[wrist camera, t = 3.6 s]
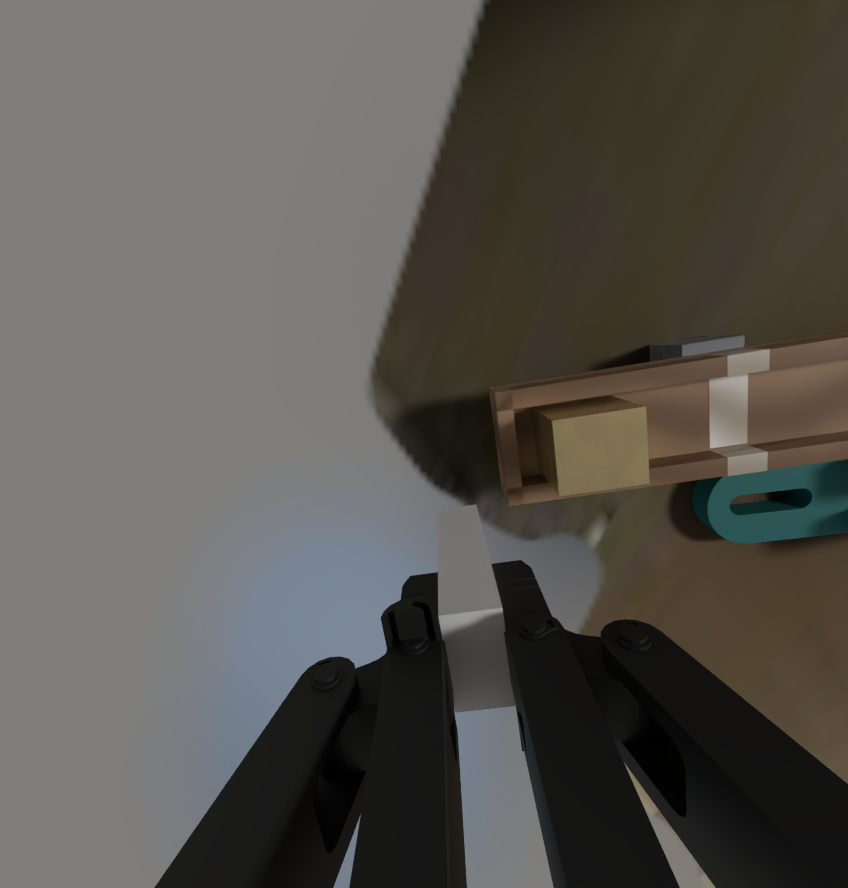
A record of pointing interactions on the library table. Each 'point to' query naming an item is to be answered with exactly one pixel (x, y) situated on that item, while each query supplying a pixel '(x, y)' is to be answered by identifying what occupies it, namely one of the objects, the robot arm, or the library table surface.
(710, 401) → the brown long open piece
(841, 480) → the bracket
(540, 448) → the block
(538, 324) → the library table surface
